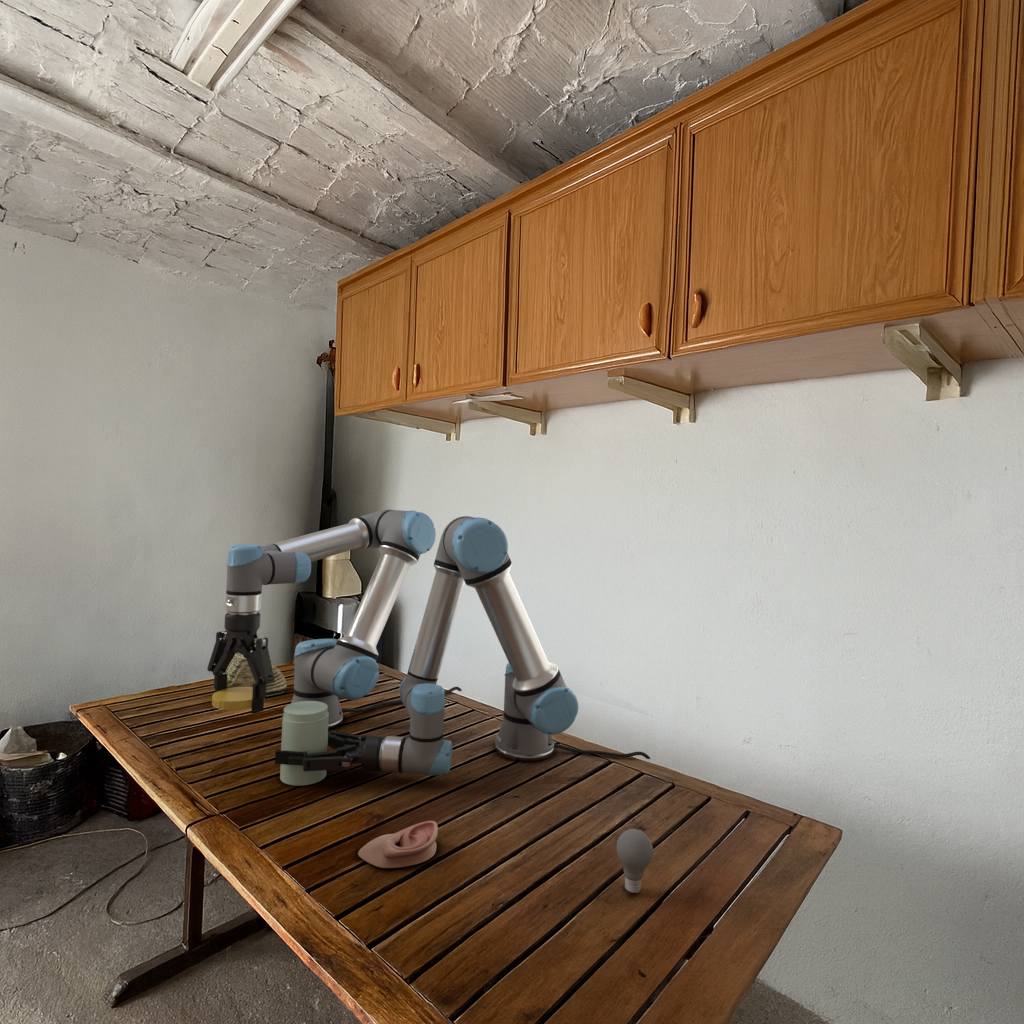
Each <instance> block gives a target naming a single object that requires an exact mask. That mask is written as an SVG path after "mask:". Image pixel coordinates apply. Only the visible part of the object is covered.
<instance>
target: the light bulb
mask: <svg viewBox="0 0 1024 1024" xmlns="http://www.w3.org/2000/svg"><path fill="white" fill-rule="evenodd" d="M615 849H616V854H617V857H618V859H619V861H620V863H621V865H622V867H623V873H624V874H623V875H624V876H625V878H624V888H625V890H627V891H628V892H630V893H634V894H635V893H639V892H640V891H641V889H642V887H641V886H642V879H643V877H644V875H645V871H646V868H647V867H648V866H649V864H650V863H651V861H652V859H653V855H654V847H653V843H652V841H651V838H649V836H648V835H647V834H646V833H645V832H643V831H642V830H641V829H636V828H629V829H627V830H625V831H623V832H622V833H621V834H620V835H619V837H618V839H617V841H616V847H615Z"/></svg>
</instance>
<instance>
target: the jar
mask: <svg viewBox="0 0 1024 1024" xmlns="http://www.w3.org/2000/svg"><path fill="white" fill-rule="evenodd" d="M327 711H328V706H327V704H325V703H323V702H318V701H301V702H295V703H292V704H291V703H289V704H287V705H286V706H285V707H284V708H283V714H282V717H281V742H280V743H281V745H280V750H282V751H298V752H305V751H307V754H312V753H319V752H327V751H328V747H329V746H328V733H329V730H328V721H329V713H328V712H327ZM279 768H280V771H279V780H280V781H281V782H282V783H283V784H285V785H289V786H309V785H313V784H316V783H319V782H321V781H322V780H324V779H325V778H326V776H327V774H328V773H327V771H328V770H322V771H303V766H300V765H286V764H280V767H279Z"/></svg>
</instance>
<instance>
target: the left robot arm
mask: <svg viewBox="0 0 1024 1024" xmlns="http://www.w3.org/2000/svg"><path fill="white" fill-rule="evenodd" d="M436 534H437V533H436V527H435V524H434V522H433V520H432V518H431V517H430V516H429V515H427V514H426V513H424V512H422V511H416V510H400V509H399V510H397V509H383V510H377V511H375V512H370V513H368V514H363V515H361V516H358V517H357V516H356V517H354V518H351V519H350V520H349V521H348V523H345V524H342V525H337V526H333V527H330V528H327V529H323V530H319V531H315V532H311V533H307V534H304V535H300V536H296V537H293V538H288V539H284V540H282V541H278V542H274V543H271V544H266V545H259V544H244V543H242V544H239V543H237V544H233V545H231V546H230V547H229V549H228V551H227V552H228V553H227V561H226V586H225V587H226V588H225V589H226V591H225V608H224V609H225V611H226V613H225V614H224V630H222V631H221V630H220V631H216V633H215V643H214V646H213V649H212V652H211V655H210V658H209V661H208V665H207V668H206V669H207V672H211V673H212V675H213V678H214V679H213V688H214V693H215V692H217V691H220V690H223V689H227V676H228V674H224V673H226V672H227V671H226V669H227V667H228V666H229V664H230V662H231V661H232V659H233V657H234V655H235V654H236V653H237V652H238V653H240V654H243V657H244V658H246V659H247V662H248V664H249V667H250V669H251V672H252V674H253V677H254V679H255V682H256V683H255V684H253V693H252V708H251V714H252V715H256V714H258V713H261V712H263V711H264V705H265V700H264V698H265V699H266V697H267V696H266V684H267V682H271V681H273V680H274V675H273V670H272V665H271V660H270V658H271V656H270V652H269V638H268V637H258V630H259V629H260V628H261V613H260V611H261V610H262V590H263V586H268V585H282V584H283V585H284V584H293V585H295V584H299V583H304V582H306V581H307V580H308V579H309V577H310V576H311V573H312V563H313V562H316V561H320V560H322V559H326V558H329V557H333V556H336V555H340V554H342V553H346V552H349V551H352V550H358V551H364V550H368V549H378V550H379V553H380V557H379V559H378V562H377V564H376V567H375V568H374V571H373V573H372V576H371V577H370V580H369V582H368V585H367V587H366V589H365V591H364V593H363V596H362V598H361V600H360V602H359V605H358V607H357V610H356V612H355V614H354V617H353V618H352V620H351V623H350V625H349V628H348V630H347V632H346V634H345V635H344V636H341V637H340V638H338V639H337V638H318V639H308V640H304V641H300V642H299V643H297V644H296V646H295V650H294V655H293V657H294V672H293V673H294V674H293V695H292V696H293V697H292V699H291V702H290V704H292V703H295V702H301V701H318V702H323V703H325V704H327V706H328V711H327V712H328V713H329V721H328V731H330V730H333V729H335V728H337V727H339V726H340V725H342V723H343V722H344V714H343V713H363V712H367V711H371V710H373V709H377V708H380V707H385V706H390V705H397V704H403V703H402V701H401V699H396V700H395V699H394V700H389V701H383V702H378V703H375V704H372V705H369V706H367V707H361V708H342V706H341V702H340V699H341V700H347V701H358V700H360V699H362V698H364V697H366V696H368V695H369V694H370V693H371V692H372V691H373V690H374V689H375V687H376V686H377V683H378V680H379V678H380V670H379V669H380V668H379V664H378V663H377V660H378V658H379V651H378V649H377V645H378V643H379V640H380V638H381V636H382V633H383V631H384V628H385V626H386V624H387V621H388V619H389V617H390V614H391V612H392V610H393V607H394V605H395V602H396V601H397V598H398V596H399V593H400V591H401V589H402V586H403V583H404V582H405V579H406V576H407V574H408V572H409V569H410V567H412V566H414V565H416V564H418V561H419V559H420V557H421V555H423V554H427V552H429V551H431V550H432V548H433V547H434V546H435V545H434V544H435V542H436V536H437V535H436ZM251 651H253V652H251ZM225 671H226V672H225ZM267 676H268V677H267ZM260 677H261V679H260ZM456 690H457V692H462V691H463V689H462V688H460V687H459V686H453V687H451V688H449V689H446V690H444V692H445V695H447V694H451V693H452V692H454V691H456Z"/></svg>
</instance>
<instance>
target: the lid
mask: <svg viewBox="0 0 1024 1024" xmlns="http://www.w3.org/2000/svg"><path fill="white" fill-rule="evenodd" d="M252 693H253V687H234V688H227V689H223V690H220V691H217V692H215V691H214V693H213V694H212V696H211V697H212V698H211V705H212V707H213V708H215V709H218V710H223V711H242V710H247V709H248V710H249V709H252ZM265 700H266V697H265V698H264V701H265Z"/></svg>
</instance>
